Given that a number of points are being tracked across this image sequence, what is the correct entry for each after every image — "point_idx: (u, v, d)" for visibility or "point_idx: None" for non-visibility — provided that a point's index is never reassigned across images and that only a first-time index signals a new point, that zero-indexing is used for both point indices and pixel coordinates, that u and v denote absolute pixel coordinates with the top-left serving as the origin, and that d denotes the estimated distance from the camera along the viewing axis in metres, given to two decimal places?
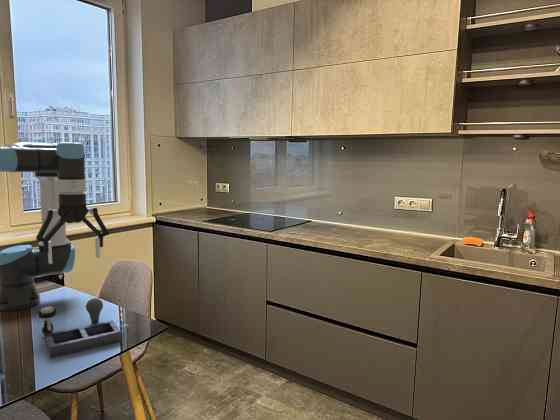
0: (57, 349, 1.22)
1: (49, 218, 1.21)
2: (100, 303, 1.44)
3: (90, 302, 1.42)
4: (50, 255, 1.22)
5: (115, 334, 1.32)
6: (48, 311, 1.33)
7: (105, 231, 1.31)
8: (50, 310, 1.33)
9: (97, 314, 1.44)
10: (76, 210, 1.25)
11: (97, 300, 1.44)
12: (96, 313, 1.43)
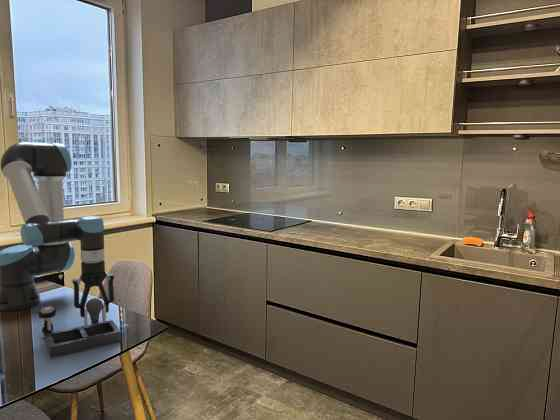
0: (57, 349, 1.22)
1: (77, 287, 1.39)
2: (100, 303, 1.44)
3: (90, 302, 1.42)
4: (86, 319, 1.42)
5: (115, 334, 1.32)
6: (48, 311, 1.33)
7: (111, 298, 1.47)
8: (50, 310, 1.33)
9: (97, 314, 1.44)
10: (97, 273, 1.43)
11: (97, 300, 1.44)
12: (96, 313, 1.43)
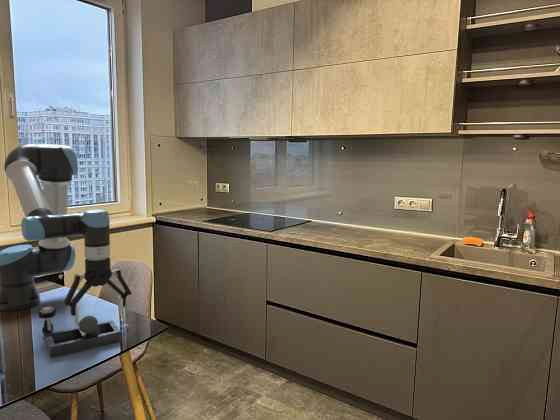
0: (57, 349, 1.22)
1: (77, 283, 1.27)
2: (93, 322, 1.29)
3: (81, 325, 1.28)
4: (77, 318, 1.28)
5: (115, 334, 1.32)
6: (48, 311, 1.33)
7: (128, 291, 1.37)
8: (50, 310, 1.33)
9: (95, 331, 1.31)
10: (101, 274, 1.31)
11: (88, 320, 1.28)
12: (93, 331, 1.30)
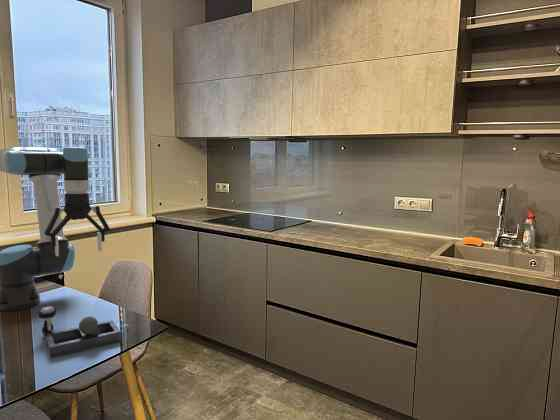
0: (57, 349, 1.22)
1: (56, 215, 1.34)
2: (93, 323, 1.28)
3: (81, 326, 1.27)
4: (57, 248, 1.36)
5: (115, 334, 1.32)
6: (48, 311, 1.33)
7: (106, 227, 1.44)
8: (50, 310, 1.33)
9: (95, 332, 1.31)
10: (80, 208, 1.38)
11: (88, 322, 1.28)
12: (93, 332, 1.30)
